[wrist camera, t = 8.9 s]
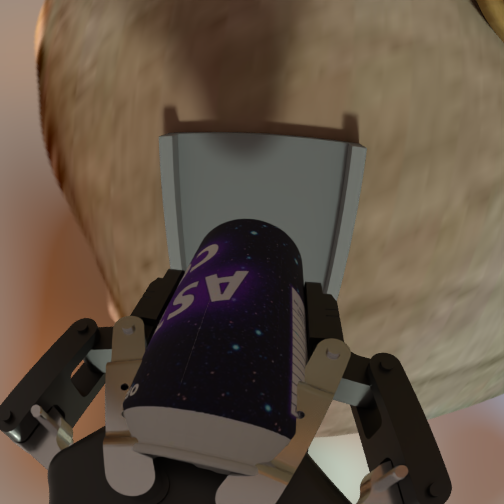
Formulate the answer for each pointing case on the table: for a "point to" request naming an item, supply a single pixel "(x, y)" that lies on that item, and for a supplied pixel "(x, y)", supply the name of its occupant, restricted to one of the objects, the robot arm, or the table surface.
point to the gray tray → (263, 193)
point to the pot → (494, 15)
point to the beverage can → (226, 355)
